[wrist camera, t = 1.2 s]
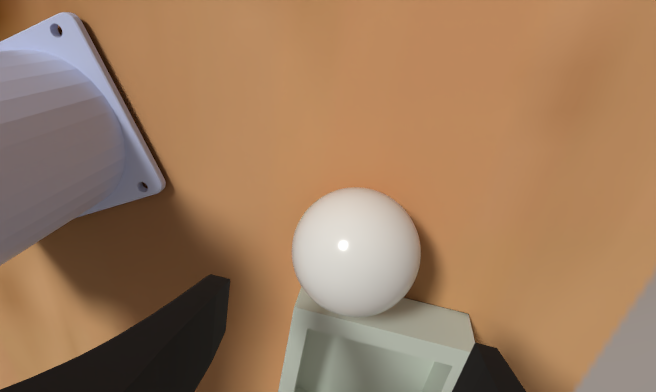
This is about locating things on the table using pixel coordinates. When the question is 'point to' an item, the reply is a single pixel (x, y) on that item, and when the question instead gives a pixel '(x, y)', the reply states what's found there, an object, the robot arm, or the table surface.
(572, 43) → the table surface
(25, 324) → the table surface
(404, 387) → the carton
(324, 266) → the white egg
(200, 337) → the robot arm
